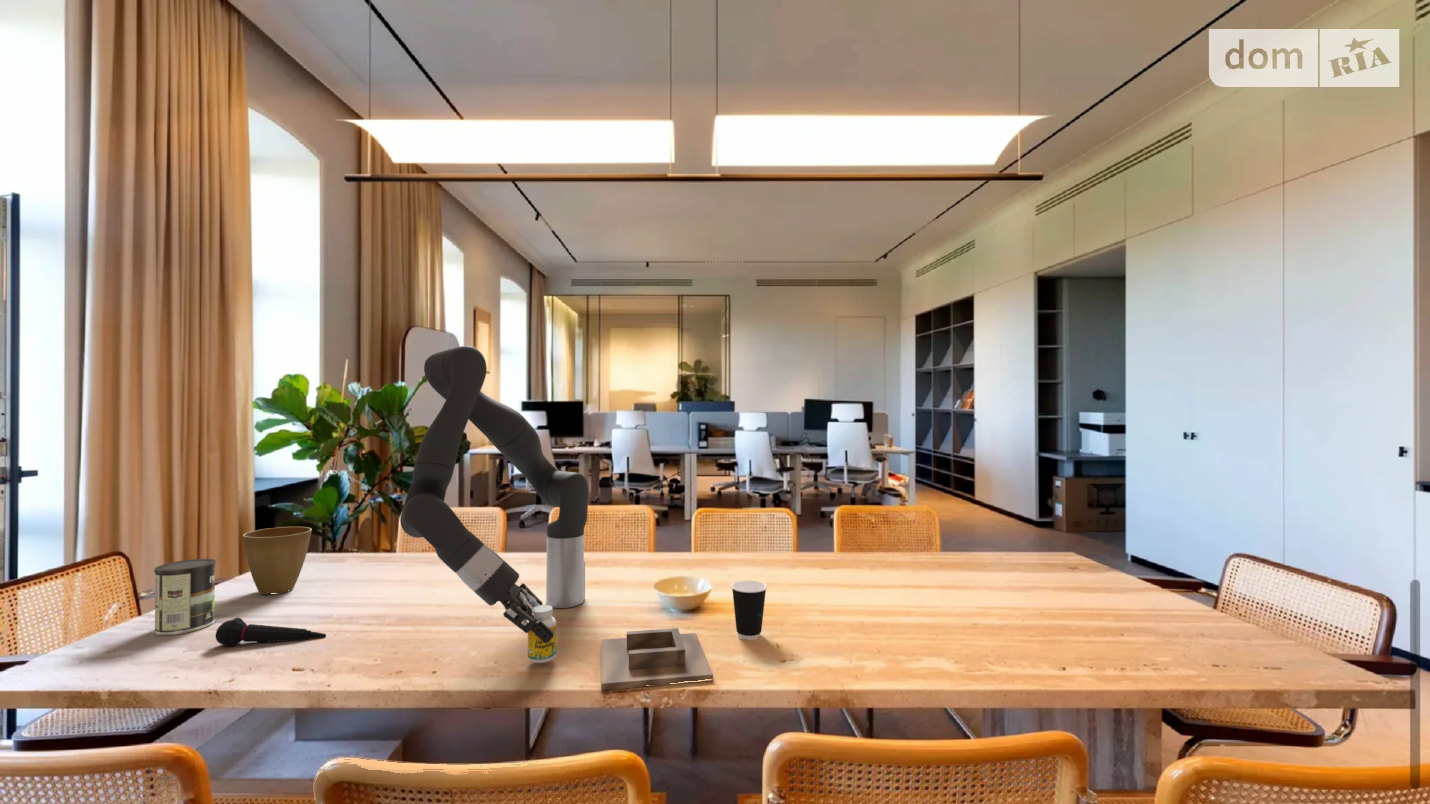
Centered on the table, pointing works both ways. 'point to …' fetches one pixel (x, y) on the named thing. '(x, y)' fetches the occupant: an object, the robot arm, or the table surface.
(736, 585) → the dixie cup
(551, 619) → the supplement bottle
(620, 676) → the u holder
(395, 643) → the table surface
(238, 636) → the microphone
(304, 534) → the plant pot
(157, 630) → the coffee can
